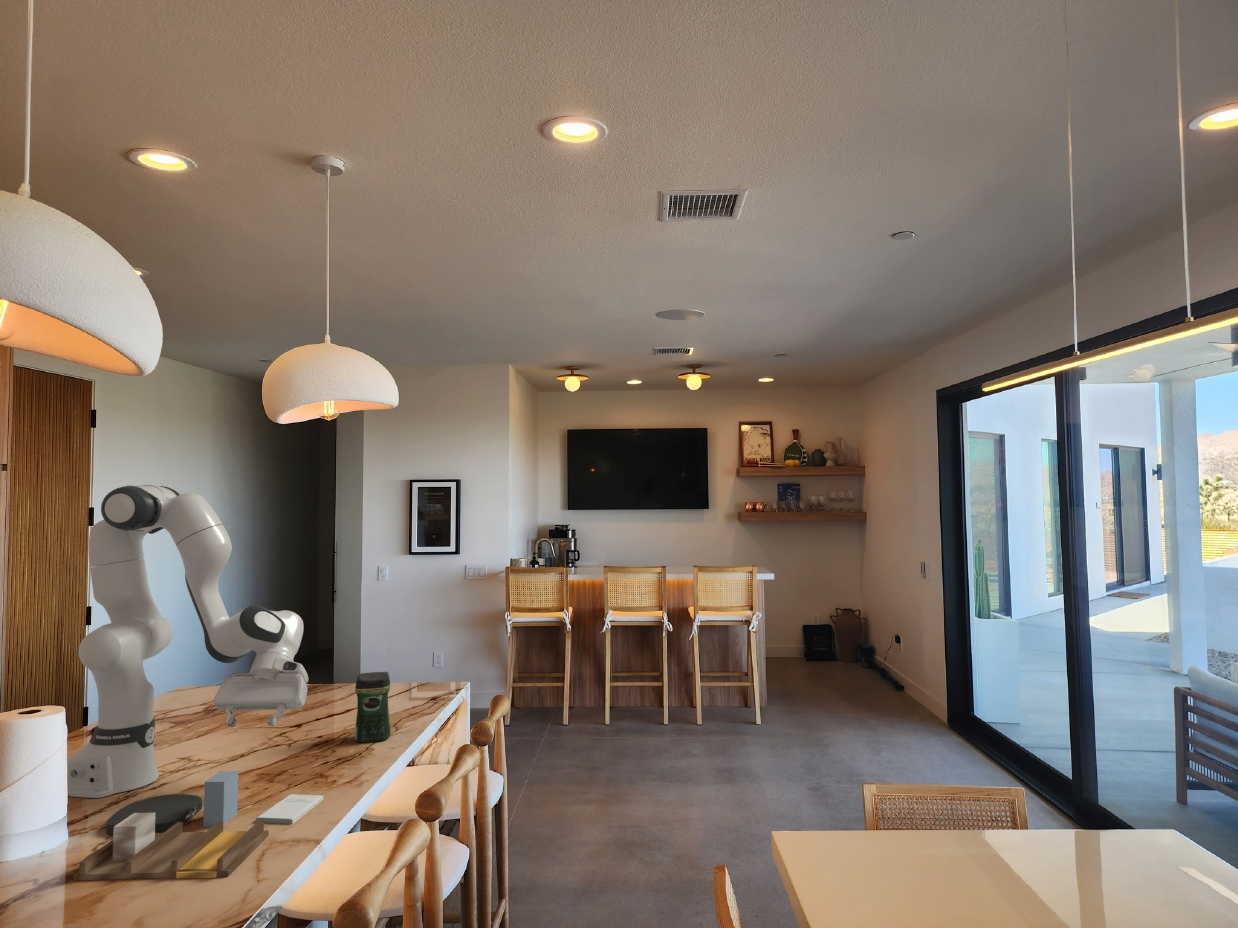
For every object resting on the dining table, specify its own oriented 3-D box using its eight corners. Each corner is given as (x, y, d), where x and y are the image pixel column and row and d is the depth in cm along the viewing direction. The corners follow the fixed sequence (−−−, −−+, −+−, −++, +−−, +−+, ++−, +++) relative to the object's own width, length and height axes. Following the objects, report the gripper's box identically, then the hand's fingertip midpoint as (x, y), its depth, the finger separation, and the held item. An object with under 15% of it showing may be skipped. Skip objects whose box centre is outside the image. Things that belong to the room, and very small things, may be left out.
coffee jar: (390, 732, 209) (391, 668, 210) (389, 741, 202) (390, 674, 203) (355, 735, 207) (356, 670, 208) (353, 744, 199) (354, 676, 200)
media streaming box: (140, 807, 159) (140, 793, 159) (208, 805, 160) (209, 791, 160) (97, 837, 144) (97, 822, 145) (172, 835, 145) (173, 819, 146)
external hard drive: (255, 825, 150) (289, 800, 163) (292, 826, 150) (323, 801, 162) (255, 817, 150) (289, 793, 163) (292, 818, 150) (323, 794, 162)
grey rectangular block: (203, 826, 149) (204, 781, 149) (218, 813, 155) (219, 771, 155) (223, 825, 149) (224, 781, 149) (237, 813, 155) (238, 770, 155)
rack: (72, 881, 127) (73, 840, 127) (131, 838, 143) (132, 802, 144) (227, 877, 128) (228, 836, 128) (268, 835, 144) (269, 799, 145)
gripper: (222, 665, 173) (199, 719, 162) (308, 664, 174) (290, 717, 163) (231, 680, 177) (209, 732, 167) (315, 678, 178) (298, 731, 167)
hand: (250, 725), depth 165 cm, fingers open, 8 cm apart
